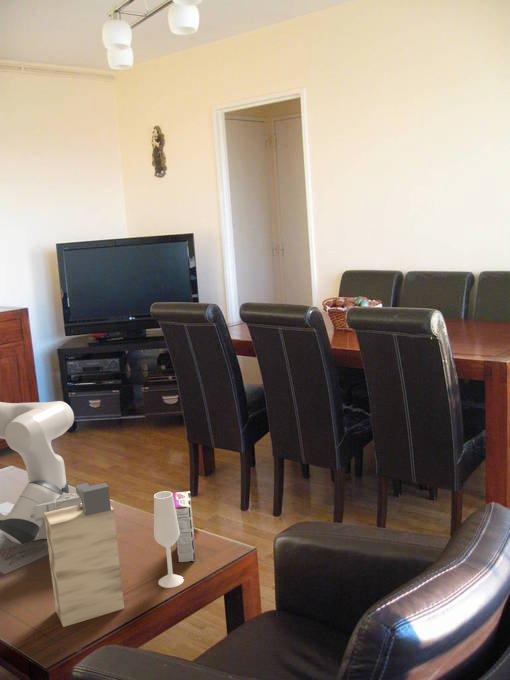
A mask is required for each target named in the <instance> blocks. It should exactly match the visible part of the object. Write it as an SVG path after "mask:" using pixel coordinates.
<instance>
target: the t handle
mask: <svg viewBox="0 0 510 680" xmlns="http://www.w3.org/2000/svg"><path fill="white" fill-rule="evenodd" d="M75 491H76V493H75V494H78V496H79V497H80V498H81V500H82V507H83V513H84V514H85V515H86V516H89V515H93V514H97V513H102V512H106V511H110V510H111V506H112V505H111V500H110V488H109V485H108V484H107V483H106V482H102V483H97V484H92V485H89V483H88V482H84V483H81V484H76V485H75ZM110 505H111V506H110Z"/></svg>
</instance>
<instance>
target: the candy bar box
mask: <svg viewBox="0 0 510 680" xmlns="http://www.w3.org/2000/svg"><path fill="white" fill-rule="evenodd" d="M173 499H174V504H175V509H176V515H177V520H178V525H179V531H180V536H179V538H178V540H177V541H176V542H175V544H176V553H177V561H178V562H185V563H191V562H190V561H193V562H196V540H195V539H196V538H195V530H194V520H193V509H192V498H191V491H190V490H188V491H177V492H175V491H174V492H173Z"/></svg>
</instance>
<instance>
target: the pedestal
mask: <svg viewBox="0 0 510 680" xmlns="http://www.w3.org/2000/svg"><path fill="white" fill-rule="evenodd" d="M110 506H111V510H110V511H106V512H102V513H97V514H93V515H89V516H86V515H85V514H84V513H83V507H82V502H81V503H79V505H75V506H71V507H67V508H62V509H58V510H54V511H50V512H45V513H44V518H45V526H46V534H47V539H46V540H47V541H46V542H47V549H48V557H49V565H50V574H51V582H52V583H51V584H52V591H53V597H54V606H55V613H56V614H57V617H58V619H59V621H60V623H61V626H62V628H65V627H67V626H71V625H75V624H78V623H81V622H85V621H87V620H91V619H94V618H95V619H96V618H98V617H101V616H104V615H108V614H111V613H113V612H117V611H121V610H124V609H125V604H124V603H125V602H124V594H123V584H122V573H121V564H120V553H119V544H118V535H117V525H116V516H115V515H116V514H115V508H114V507H112V505H111V504H110Z"/></svg>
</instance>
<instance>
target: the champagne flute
mask: <svg viewBox="0 0 510 680" xmlns="http://www.w3.org/2000/svg"><path fill="white" fill-rule="evenodd" d="M179 536H180V531H179V525H178V520H177V515H176V509H175V504H174V492H172V491H169V490H167V491H165V490H164V491H163V490H162V491H159V492H157V493H154V495H153V539H154V540H155V541H156V542H157V544H159V545H160V546H161V547H163V548H165V553H166V564H167V574H166V575H164V576H162V577H161V578H160V579H158V585H159V586H160V587H162V588H166V589H167V588H169V589H170V588H176V587H178V586H181V585H182V584H183V583H184V581H185V579H183V578H184V577H183V576H182V575H180V574H179V575H178V574H175V573H174V571H173V562H172V551H171V550H172V549H171V548H172V546H174V545H175V544H176V541H177V540H178V538H179Z"/></svg>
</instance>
